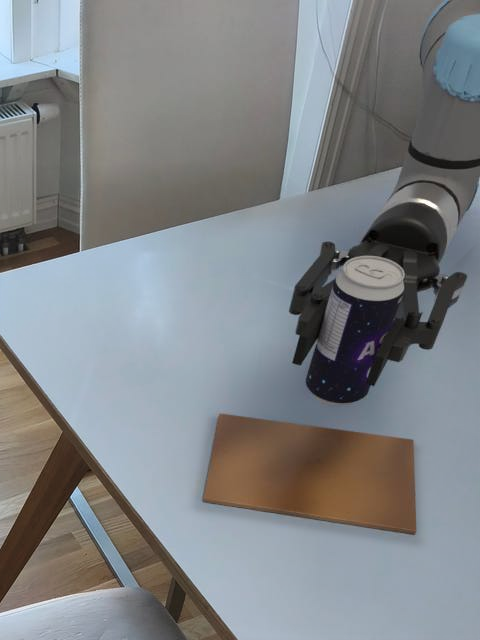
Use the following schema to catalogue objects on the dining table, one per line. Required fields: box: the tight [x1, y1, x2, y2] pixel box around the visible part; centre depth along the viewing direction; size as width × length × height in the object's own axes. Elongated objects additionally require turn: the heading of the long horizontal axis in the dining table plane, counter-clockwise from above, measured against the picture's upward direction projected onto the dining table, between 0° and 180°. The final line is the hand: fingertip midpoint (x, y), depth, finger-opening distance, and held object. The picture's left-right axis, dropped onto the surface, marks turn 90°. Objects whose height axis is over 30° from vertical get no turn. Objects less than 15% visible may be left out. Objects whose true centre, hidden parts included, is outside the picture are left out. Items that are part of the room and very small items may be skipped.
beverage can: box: [305, 256, 404, 407], centre depth 77 cm, size 6×6×12 cm
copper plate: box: [202, 413, 417, 535], centre depth 89 cm, size 20×14×1 cm
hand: (336, 360), depth 74 cm, fingers closed on beverage can, 6 cm apart
